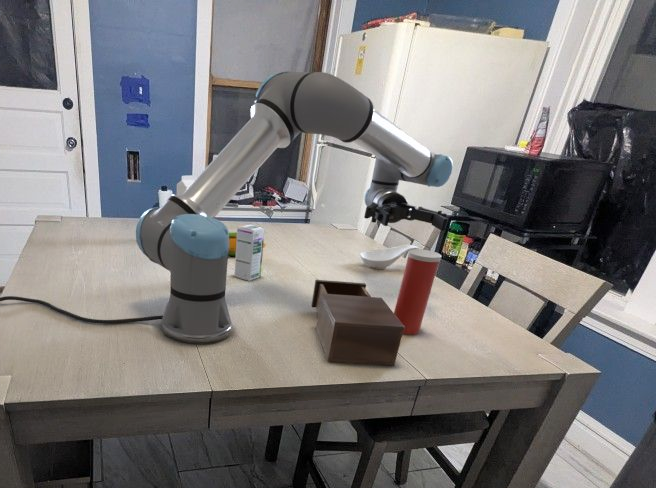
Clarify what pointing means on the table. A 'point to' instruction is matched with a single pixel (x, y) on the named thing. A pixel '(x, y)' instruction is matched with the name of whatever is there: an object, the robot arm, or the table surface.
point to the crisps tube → (416, 288)
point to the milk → (185, 183)
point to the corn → (234, 244)
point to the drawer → (337, 290)
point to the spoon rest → (384, 256)
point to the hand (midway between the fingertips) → (415, 222)
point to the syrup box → (249, 252)
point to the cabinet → (358, 330)
